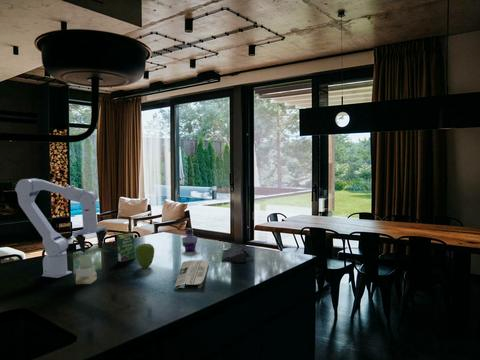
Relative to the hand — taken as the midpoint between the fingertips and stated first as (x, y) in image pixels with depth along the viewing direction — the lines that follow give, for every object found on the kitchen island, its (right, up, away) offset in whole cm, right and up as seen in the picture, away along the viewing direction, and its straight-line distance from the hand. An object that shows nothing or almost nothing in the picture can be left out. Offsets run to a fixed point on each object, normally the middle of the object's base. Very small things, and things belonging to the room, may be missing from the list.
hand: (91, 249), depth 160 cm
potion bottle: (+38, -8, +37) cm, 53 cm away
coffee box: (+9, -9, +21) cm, 24 cm away
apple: (+22, -10, +7) cm, 25 cm away
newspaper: (+45, -10, -6) cm, 47 cm away
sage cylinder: (+2, -5, -10) cm, 12 cm away
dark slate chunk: (+63, -8, +23) cm, 68 cm away
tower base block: (+2, -11, -10) cm, 15 cm away
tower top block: (+2, -8, -10) cm, 13 cm away
